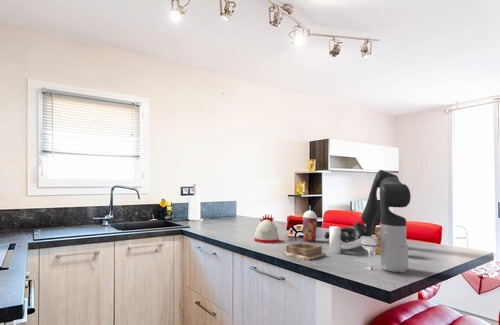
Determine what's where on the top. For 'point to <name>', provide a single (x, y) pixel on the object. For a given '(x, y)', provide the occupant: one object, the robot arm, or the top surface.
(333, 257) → the top surface
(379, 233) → the small box
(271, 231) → the kitchen timer
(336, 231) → the paper roll
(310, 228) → the smoothie
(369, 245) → the wineglass
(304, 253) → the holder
